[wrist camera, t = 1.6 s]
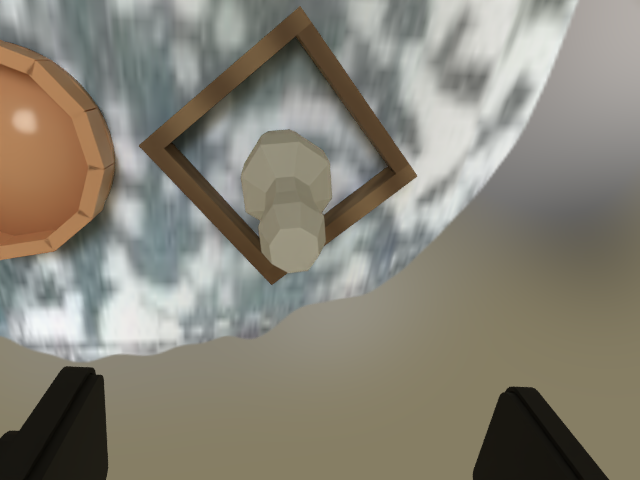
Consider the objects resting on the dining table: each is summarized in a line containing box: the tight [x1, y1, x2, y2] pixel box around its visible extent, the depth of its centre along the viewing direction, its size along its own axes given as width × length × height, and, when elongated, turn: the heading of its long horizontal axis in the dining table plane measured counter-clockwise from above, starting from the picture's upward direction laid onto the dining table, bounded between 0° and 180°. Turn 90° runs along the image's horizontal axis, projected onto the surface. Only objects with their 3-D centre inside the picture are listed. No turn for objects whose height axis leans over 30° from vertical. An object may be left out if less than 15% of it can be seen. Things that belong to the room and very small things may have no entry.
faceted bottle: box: [241, 129, 332, 273], centre depth 30 cm, size 6×6×22 cm
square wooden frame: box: [139, 6, 417, 285], centre depth 39 cm, size 17×17×3 cm
